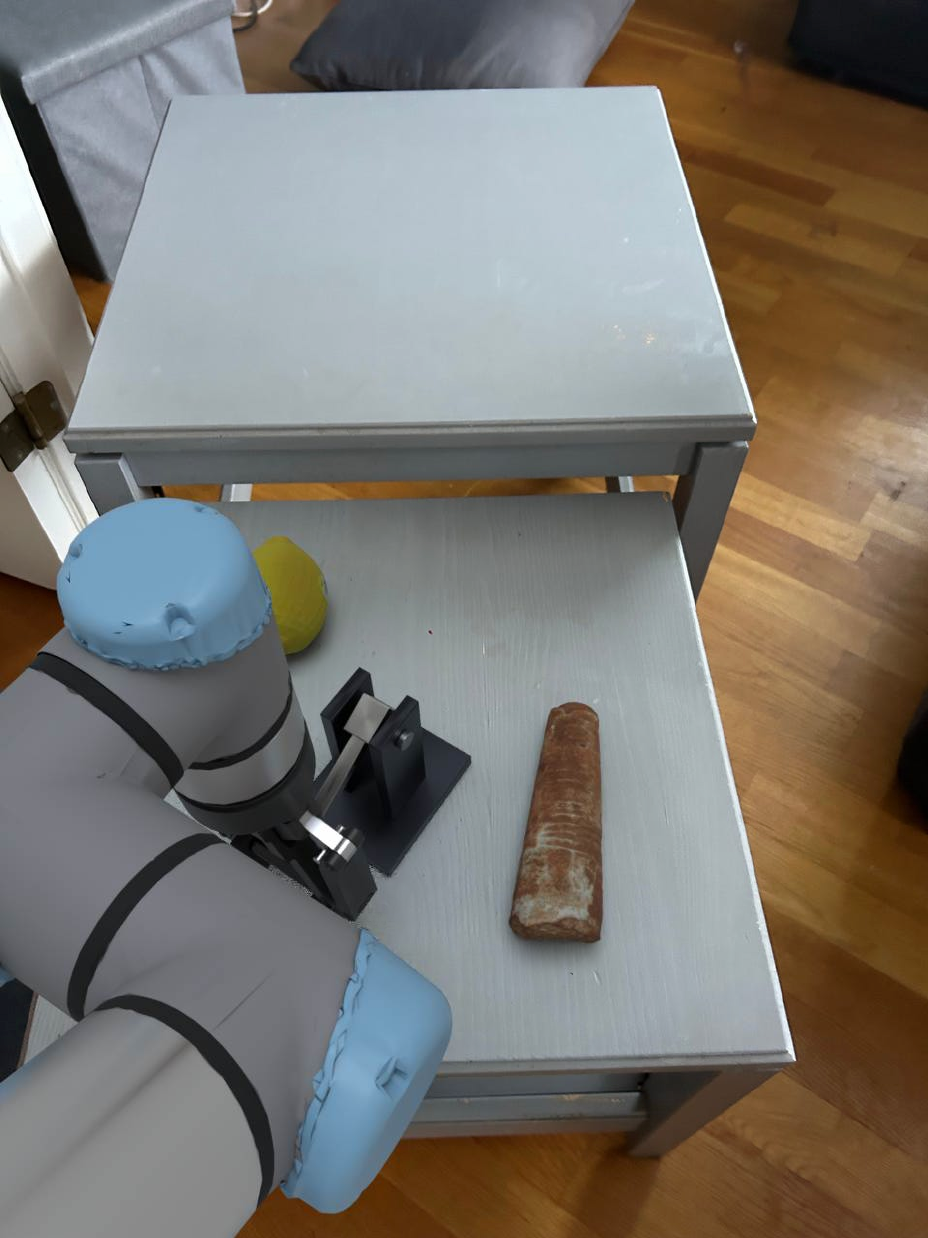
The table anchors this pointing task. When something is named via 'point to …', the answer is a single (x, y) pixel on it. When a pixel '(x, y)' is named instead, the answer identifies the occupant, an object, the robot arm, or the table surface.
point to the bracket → (389, 775)
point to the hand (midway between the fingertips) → (301, 889)
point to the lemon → (293, 591)
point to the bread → (563, 835)
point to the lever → (338, 770)
